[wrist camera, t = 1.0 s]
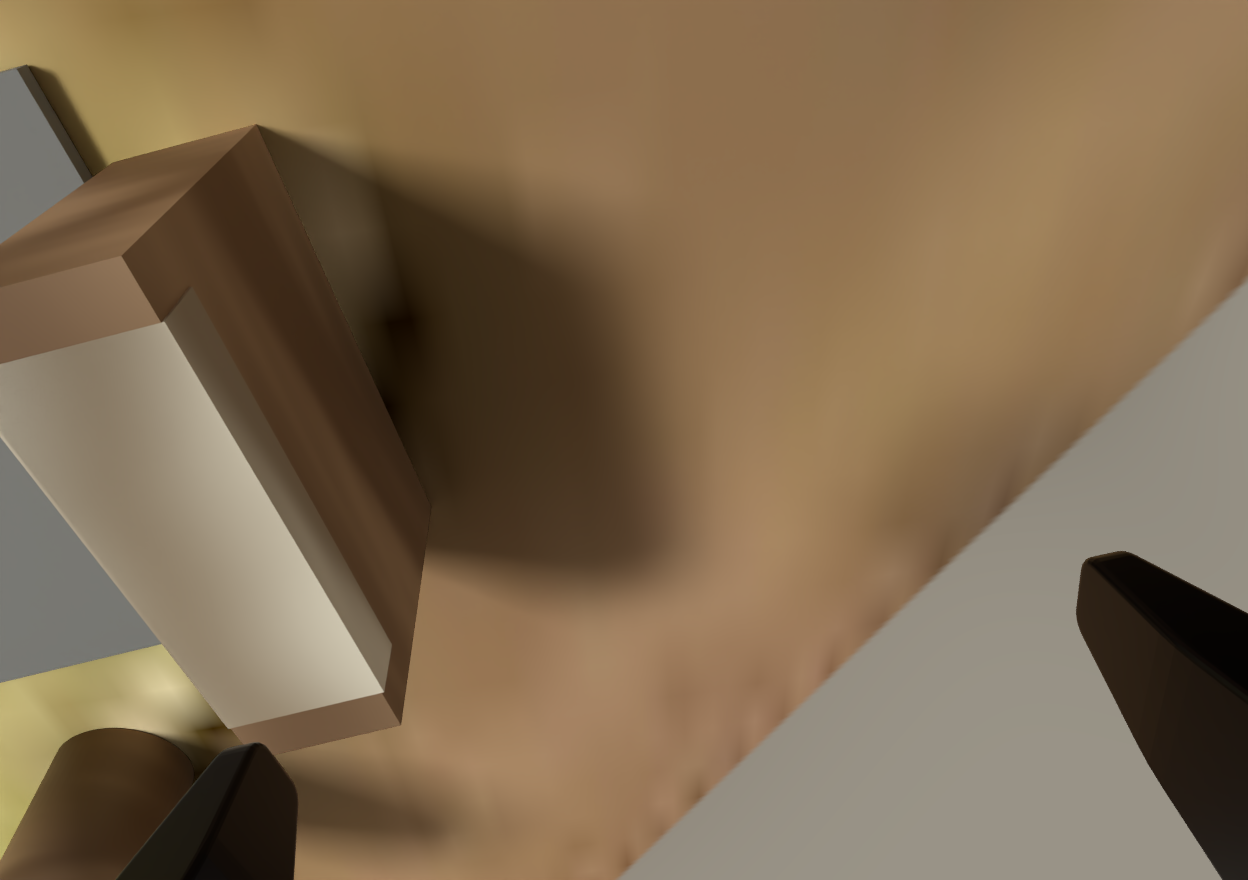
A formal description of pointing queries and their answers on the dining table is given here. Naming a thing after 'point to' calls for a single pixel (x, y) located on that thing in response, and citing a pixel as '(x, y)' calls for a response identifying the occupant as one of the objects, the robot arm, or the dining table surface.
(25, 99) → the mat
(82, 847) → the pepper mill
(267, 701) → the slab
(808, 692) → the dining table surface
